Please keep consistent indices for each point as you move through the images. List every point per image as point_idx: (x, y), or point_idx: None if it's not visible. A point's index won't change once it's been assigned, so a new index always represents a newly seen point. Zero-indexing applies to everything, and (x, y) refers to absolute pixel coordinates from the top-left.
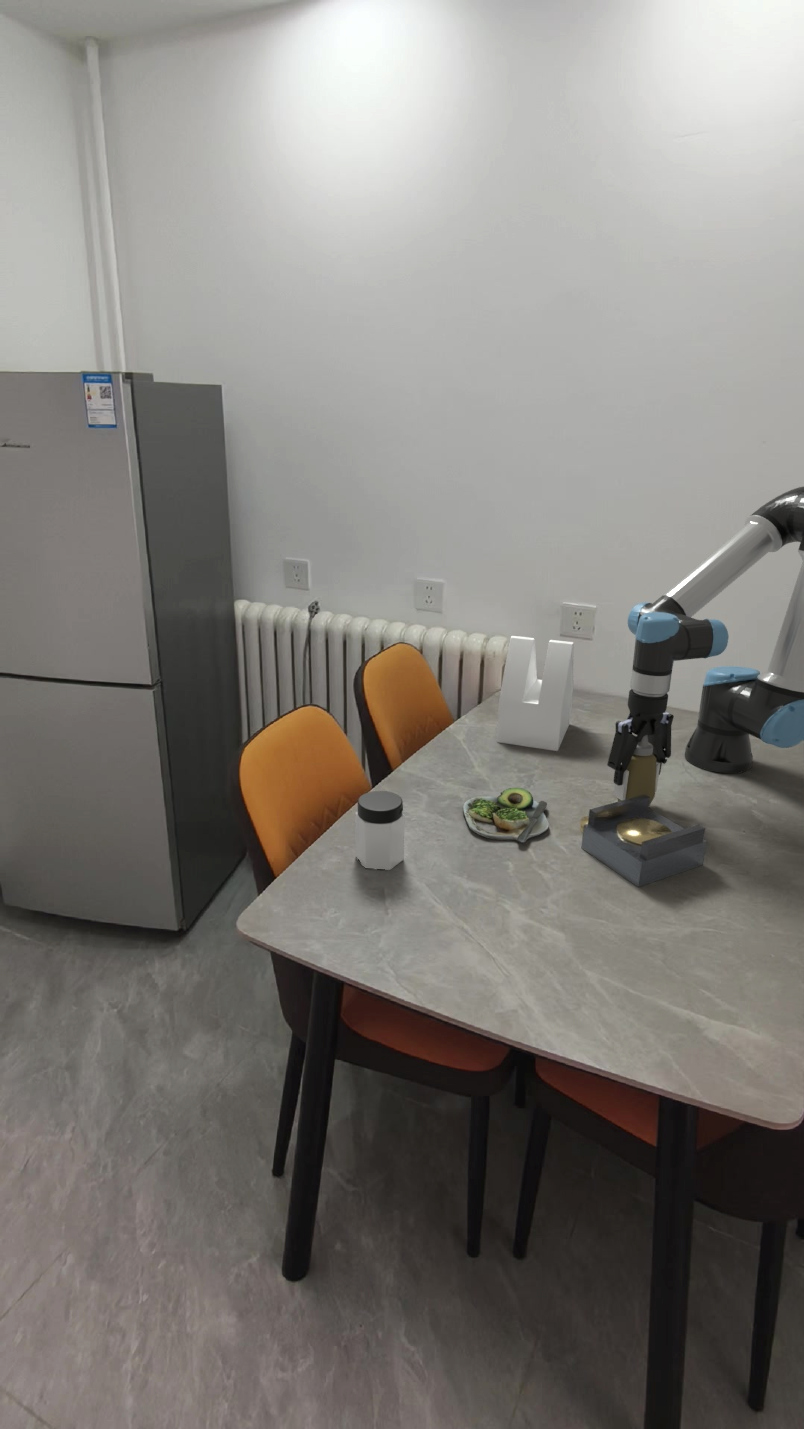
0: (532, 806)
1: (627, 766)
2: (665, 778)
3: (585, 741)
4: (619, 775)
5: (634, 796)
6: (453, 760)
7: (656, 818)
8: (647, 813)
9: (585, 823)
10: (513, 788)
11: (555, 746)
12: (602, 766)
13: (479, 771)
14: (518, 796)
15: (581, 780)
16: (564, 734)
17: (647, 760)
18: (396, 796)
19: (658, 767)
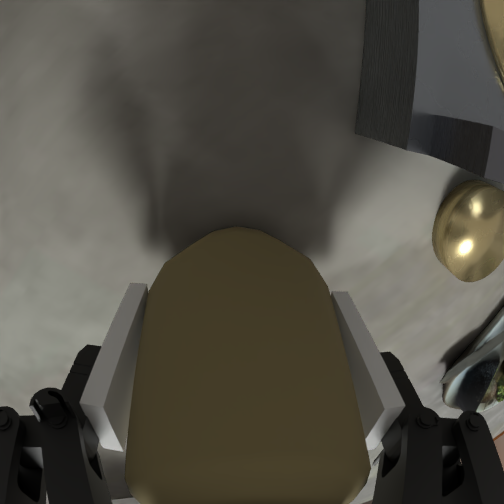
0: (466, 370)
1: (409, 437)
2: (14, 343)
3: (108, 481)
4: (415, 395)
5: (319, 279)
6: (366, 490)
7: (457, 46)
8: (453, 104)
9: (500, 251)
10: None
11: None
12: None
13: (373, 473)
14: (494, 391)
15: None
16: (133, 499)
17: (296, 473)
18: None
19: (99, 383)
